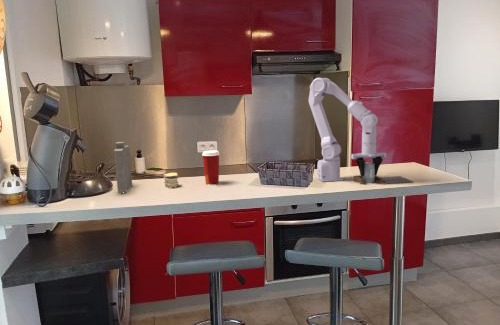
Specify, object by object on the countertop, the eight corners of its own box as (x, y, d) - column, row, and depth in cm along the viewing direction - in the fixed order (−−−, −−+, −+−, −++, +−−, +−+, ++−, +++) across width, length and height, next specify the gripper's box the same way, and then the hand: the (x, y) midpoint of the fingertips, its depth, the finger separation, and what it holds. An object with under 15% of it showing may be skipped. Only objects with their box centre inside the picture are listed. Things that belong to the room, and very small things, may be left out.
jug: (367, 184, 166) (367, 165, 165) (360, 181, 173) (360, 162, 172) (378, 184, 167) (379, 164, 165) (371, 180, 174) (371, 162, 172)
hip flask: (125, 193, 164) (121, 144, 160) (114, 194, 163) (110, 144, 160) (132, 184, 179) (129, 139, 176) (123, 185, 179) (119, 140, 176)
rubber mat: (387, 184, 166) (387, 182, 166) (376, 178, 177) (376, 177, 177) (413, 182, 168) (413, 181, 168) (400, 177, 178) (400, 176, 178)
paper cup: (224, 181, 180) (222, 150, 177) (215, 185, 173) (214, 153, 170) (208, 180, 183) (207, 150, 180) (199, 184, 176) (198, 152, 174)
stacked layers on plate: (186, 187, 173) (185, 174, 172) (166, 190, 168) (165, 177, 167) (177, 183, 181) (176, 171, 180) (157, 186, 176) (157, 174, 175)
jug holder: (361, 184, 167) (361, 179, 167) (353, 180, 175) (354, 175, 174) (382, 183, 168) (382, 178, 168) (373, 179, 176) (374, 174, 176)
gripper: (355, 145, 163) (355, 178, 166) (390, 143, 165) (389, 176, 167) (349, 142, 170) (349, 174, 173) (382, 141, 172) (381, 172, 174)
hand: (368, 175), depth 170 cm, fingers closed on jug, 5 cm apart
